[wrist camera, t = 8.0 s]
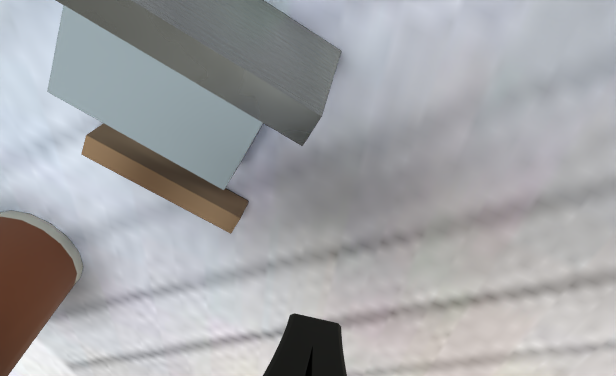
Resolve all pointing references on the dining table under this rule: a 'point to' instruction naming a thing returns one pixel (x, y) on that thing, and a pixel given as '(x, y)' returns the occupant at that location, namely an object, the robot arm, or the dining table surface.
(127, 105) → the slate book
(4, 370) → the coffee cup
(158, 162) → the walnut rail
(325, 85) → the grey flat block
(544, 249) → the dining table surface
